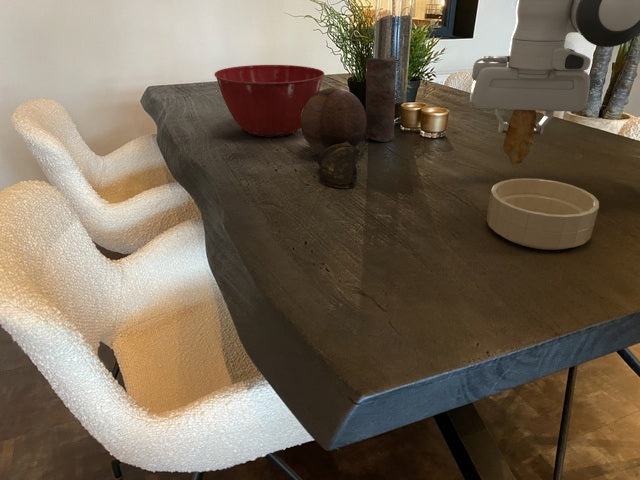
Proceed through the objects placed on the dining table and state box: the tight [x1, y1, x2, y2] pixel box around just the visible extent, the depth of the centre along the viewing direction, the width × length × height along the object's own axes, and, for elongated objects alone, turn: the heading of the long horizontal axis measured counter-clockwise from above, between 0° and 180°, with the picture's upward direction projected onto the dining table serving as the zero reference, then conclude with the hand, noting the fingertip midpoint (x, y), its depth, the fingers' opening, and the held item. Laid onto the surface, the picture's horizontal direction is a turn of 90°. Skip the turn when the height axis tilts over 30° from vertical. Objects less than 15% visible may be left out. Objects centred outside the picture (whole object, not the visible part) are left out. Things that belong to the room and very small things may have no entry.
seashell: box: [317, 141, 360, 189], centre depth 101 cm, size 16×9×7 cm, turn 179°
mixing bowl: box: [214, 64, 326, 138], centre depth 130 cm, size 28×28×15 cm
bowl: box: [486, 177, 600, 251], centre depth 77 cm, size 15×15×6 cm
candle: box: [364, 56, 397, 143], centre depth 121 cm, size 8×7×20 cm
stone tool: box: [502, 110, 538, 165], centre depth 93 cm, size 5×2×15 cm, turn 80°
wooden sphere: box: [300, 87, 366, 154], centre depth 111 cm, size 15×15×15 cm
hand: (520, 133), depth 93 cm, fingers closed on stone tool, 5 cm apart
